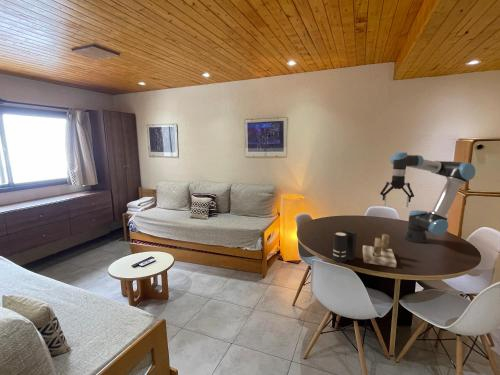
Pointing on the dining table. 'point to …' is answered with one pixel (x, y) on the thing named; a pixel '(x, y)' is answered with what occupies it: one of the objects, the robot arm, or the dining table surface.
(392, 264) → the seat board
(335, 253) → the striped black canister
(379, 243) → the oak peg
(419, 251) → the dining table surface
